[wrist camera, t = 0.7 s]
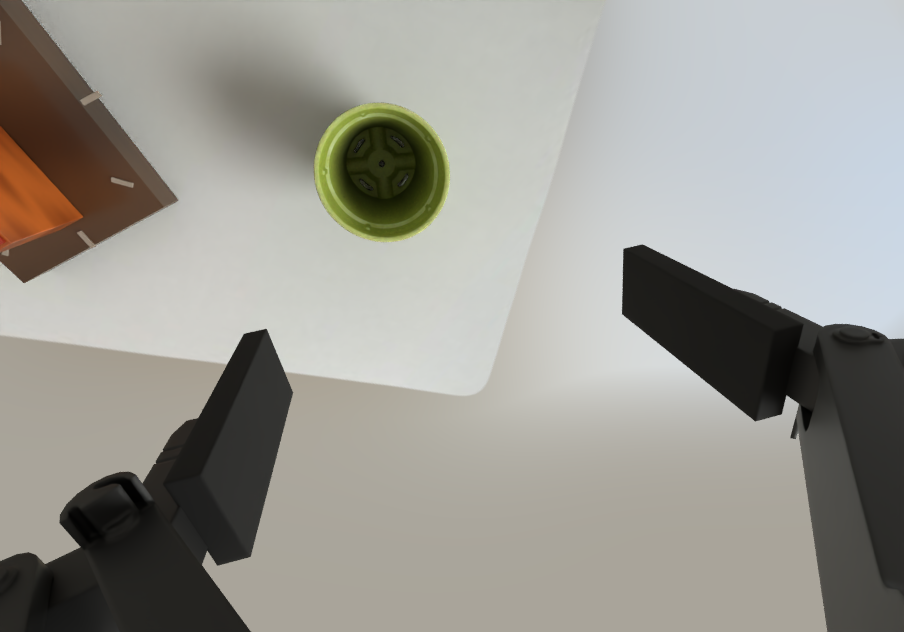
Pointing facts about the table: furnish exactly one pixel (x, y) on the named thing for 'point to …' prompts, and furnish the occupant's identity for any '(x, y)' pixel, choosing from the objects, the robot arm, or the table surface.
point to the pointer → (28, 199)
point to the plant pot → (381, 172)
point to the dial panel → (68, 146)
